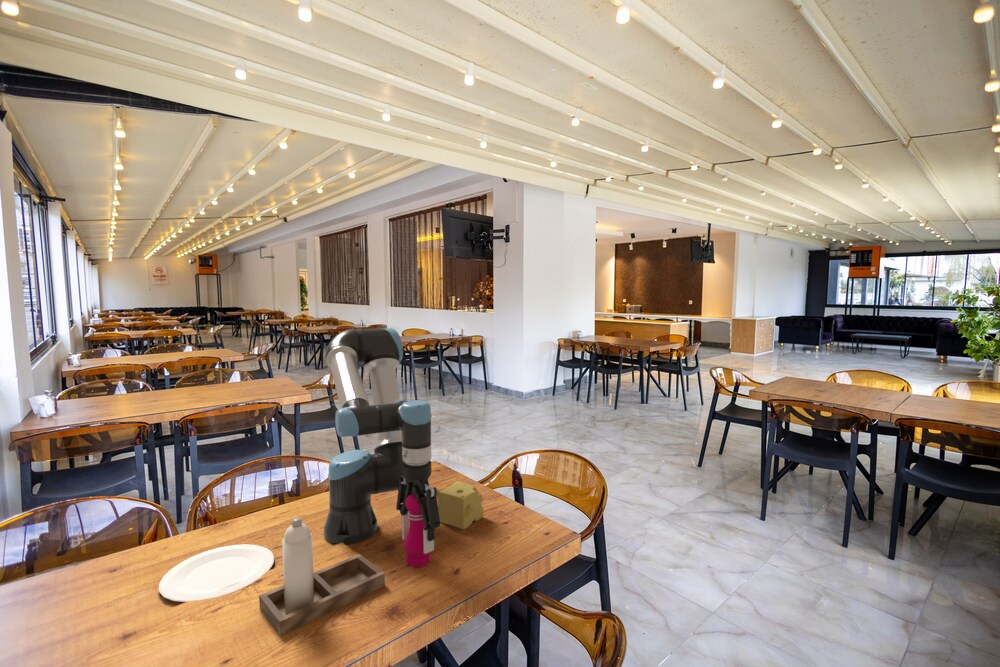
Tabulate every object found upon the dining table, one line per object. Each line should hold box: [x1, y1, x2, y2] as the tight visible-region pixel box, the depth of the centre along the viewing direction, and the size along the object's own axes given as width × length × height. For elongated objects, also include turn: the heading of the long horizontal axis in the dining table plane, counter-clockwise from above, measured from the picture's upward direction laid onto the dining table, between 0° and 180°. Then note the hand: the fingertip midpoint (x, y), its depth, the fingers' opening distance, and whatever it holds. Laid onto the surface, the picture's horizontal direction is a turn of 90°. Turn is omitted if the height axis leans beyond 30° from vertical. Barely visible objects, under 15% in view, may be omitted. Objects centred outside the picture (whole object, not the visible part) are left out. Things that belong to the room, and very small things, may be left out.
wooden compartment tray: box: [258, 553, 386, 637], centre depth 109 cm, size 24×12×4 cm, turn 135°
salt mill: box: [281, 517, 314, 615], centre depth 104 cm, size 6×6×20 cm
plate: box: [158, 543, 275, 603], centre depth 120 cm, size 25×25×2 cm
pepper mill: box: [403, 494, 431, 568], centre depth 125 cm, size 7×7×20 cm
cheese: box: [437, 480, 485, 530], centre depth 149 cm, size 10×11×10 cm
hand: (417, 544), depth 125 cm, fingers open, 9 cm apart
